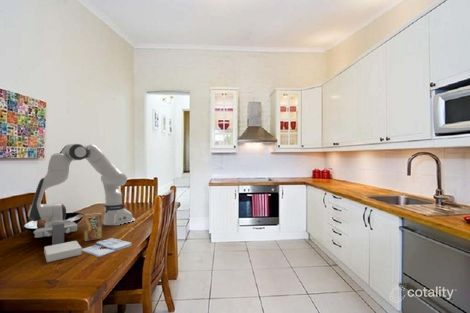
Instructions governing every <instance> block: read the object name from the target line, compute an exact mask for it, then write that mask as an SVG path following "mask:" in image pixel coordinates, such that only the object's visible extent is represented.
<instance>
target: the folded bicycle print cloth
mask: <svg viewBox="0 0 470 313" xmlns="http://www.w3.org/2000/svg"><path fill="white" fill-rule="evenodd" d="M132 244H133V243H132V242H130V241H125V240H121V239H118V238H113V237H111V238H107V239H104V240H99V241H96V242H95V244H93V245H91V246H87V247H85V248H83V247H82V248H81V252H83V253H87V254H89V255H93V256H95V257H96V258H101V257H104V256H106V254H107V255H108V254H112V253H115V252H118V251H120V250H123V249H126V248H129V247H131V246H132V247H133V245H132ZM101 247H102V248H101ZM100 248H101V249H100Z"/></svg>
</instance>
